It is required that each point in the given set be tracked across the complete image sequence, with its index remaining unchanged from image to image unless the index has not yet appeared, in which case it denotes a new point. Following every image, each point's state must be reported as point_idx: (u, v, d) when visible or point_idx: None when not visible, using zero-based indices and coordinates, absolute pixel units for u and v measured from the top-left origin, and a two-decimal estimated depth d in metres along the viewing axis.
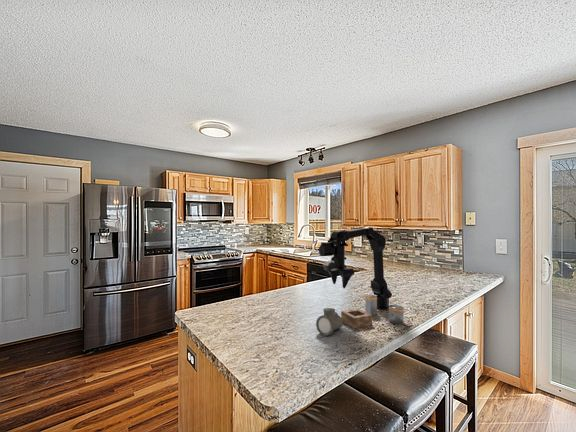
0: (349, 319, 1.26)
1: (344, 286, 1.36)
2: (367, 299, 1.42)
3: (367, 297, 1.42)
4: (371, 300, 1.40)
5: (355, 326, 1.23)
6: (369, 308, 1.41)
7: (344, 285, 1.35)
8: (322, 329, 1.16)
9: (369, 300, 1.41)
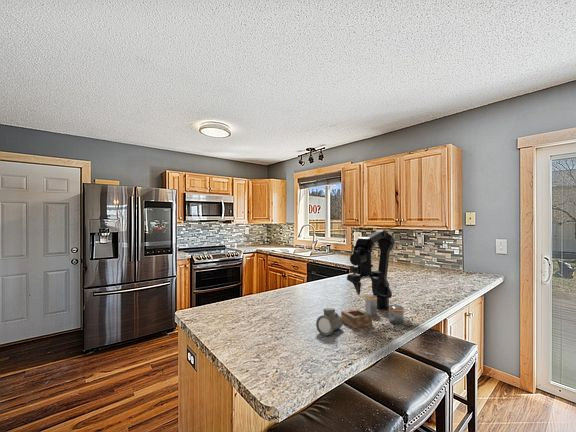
0: (349, 319, 1.26)
1: (357, 293, 1.36)
2: (367, 299, 1.42)
3: (367, 297, 1.42)
4: (371, 300, 1.40)
5: (355, 326, 1.23)
6: (369, 308, 1.41)
7: (357, 292, 1.36)
8: (322, 329, 1.16)
9: (369, 300, 1.41)
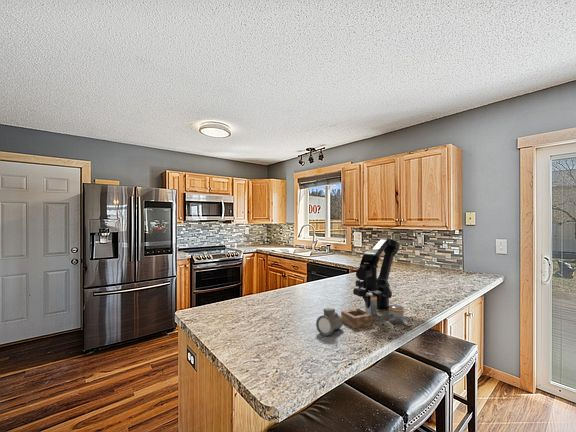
0: (349, 319, 1.26)
1: (366, 306, 1.41)
2: None
3: None
4: (371, 300, 1.40)
5: (355, 326, 1.23)
6: (369, 308, 1.41)
7: (366, 305, 1.41)
8: (322, 329, 1.16)
9: None
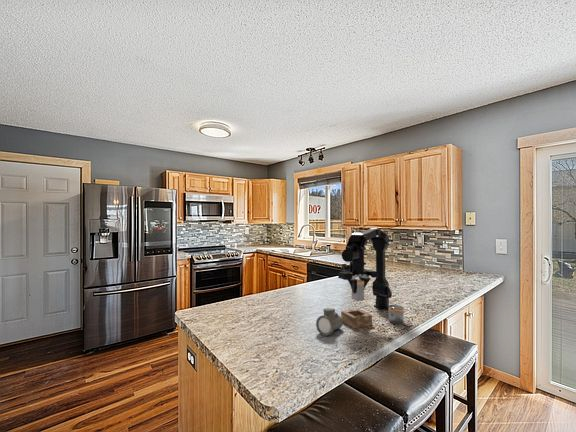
0: (349, 319, 1.26)
1: (353, 291, 1.30)
2: None
3: None
4: (358, 284, 1.29)
5: (355, 326, 1.23)
6: (355, 293, 1.29)
7: (352, 290, 1.30)
8: (322, 329, 1.16)
9: None
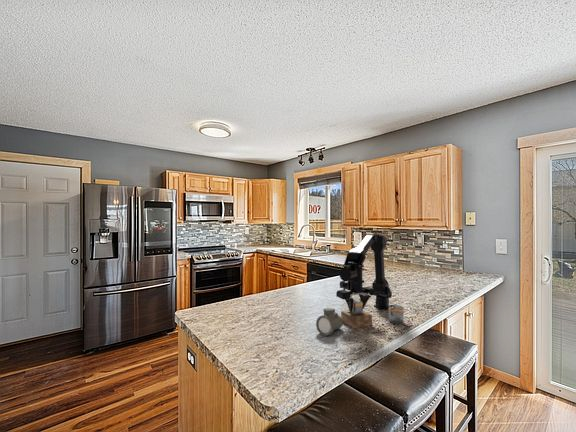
0: (349, 319, 1.26)
1: (349, 310, 1.28)
2: None
3: None
4: (357, 305, 1.27)
5: (355, 326, 1.23)
6: (354, 315, 1.28)
7: (349, 308, 1.28)
8: (322, 329, 1.16)
9: (354, 306, 1.28)
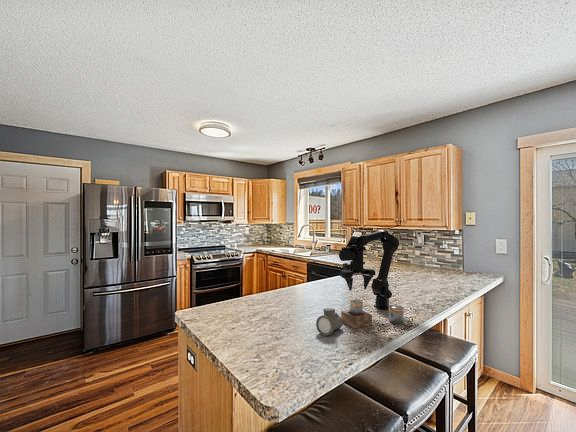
0: (349, 319, 1.26)
1: (349, 289, 1.41)
2: (352, 305, 1.29)
3: (352, 302, 1.29)
4: (357, 305, 1.27)
5: (355, 326, 1.23)
6: (354, 315, 1.28)
7: (349, 287, 1.41)
8: (322, 329, 1.16)
9: (354, 306, 1.28)
